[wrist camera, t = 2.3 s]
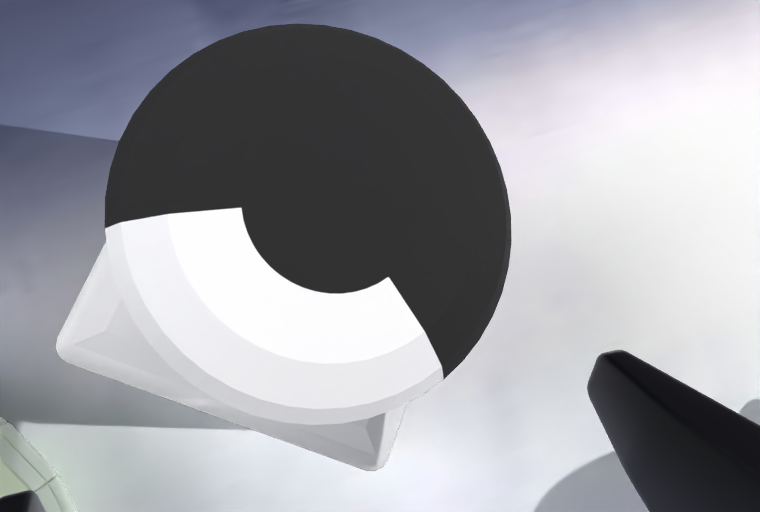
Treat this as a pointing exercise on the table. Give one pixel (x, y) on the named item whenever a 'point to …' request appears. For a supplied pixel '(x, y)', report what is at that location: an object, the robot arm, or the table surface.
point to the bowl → (30, 472)
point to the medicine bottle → (296, 240)
